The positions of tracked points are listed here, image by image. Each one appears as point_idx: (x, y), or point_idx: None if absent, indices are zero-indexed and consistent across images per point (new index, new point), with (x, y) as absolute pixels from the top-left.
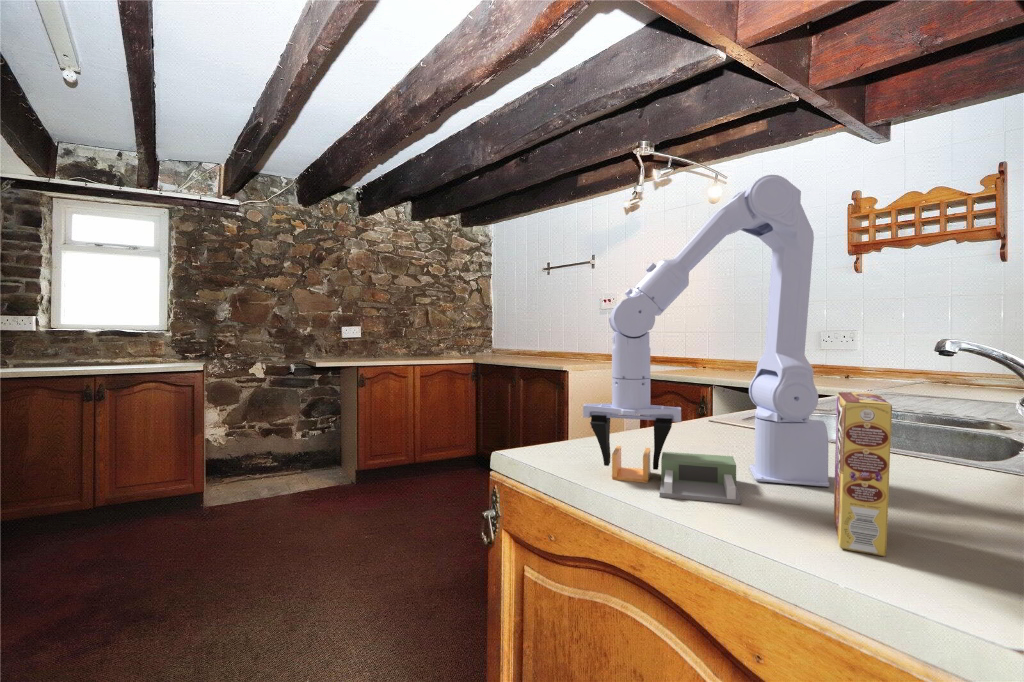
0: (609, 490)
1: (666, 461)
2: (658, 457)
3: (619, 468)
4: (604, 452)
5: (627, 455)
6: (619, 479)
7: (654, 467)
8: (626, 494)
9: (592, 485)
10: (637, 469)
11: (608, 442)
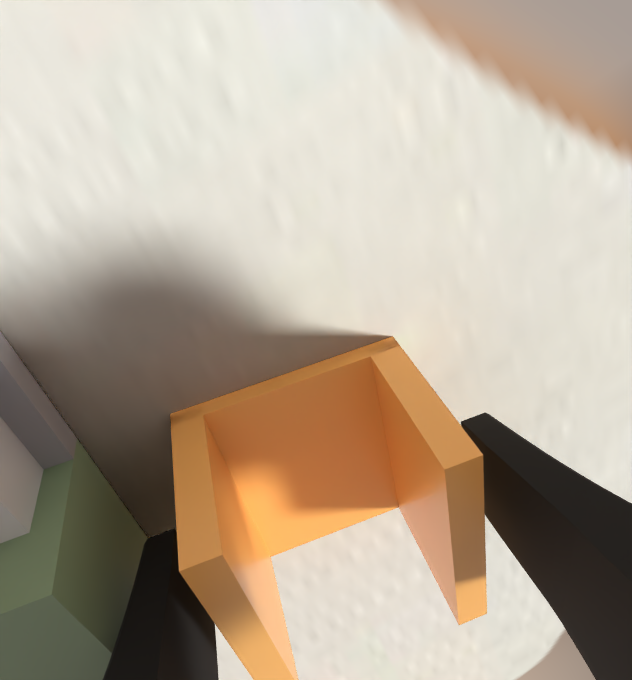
0: (336, 88)
1: (8, 601)
2: (124, 625)
3: (395, 466)
4: (544, 470)
5: (421, 642)
6: (349, 352)
7: (164, 543)
8: (169, 57)
9: (483, 139)
10: (309, 530)
11: (561, 586)
